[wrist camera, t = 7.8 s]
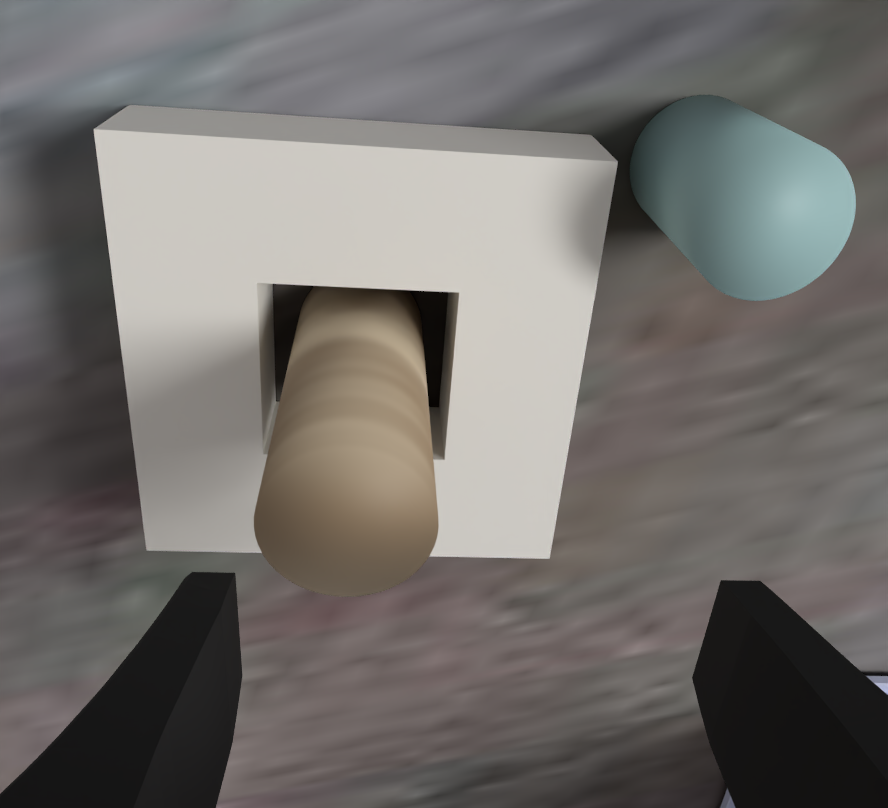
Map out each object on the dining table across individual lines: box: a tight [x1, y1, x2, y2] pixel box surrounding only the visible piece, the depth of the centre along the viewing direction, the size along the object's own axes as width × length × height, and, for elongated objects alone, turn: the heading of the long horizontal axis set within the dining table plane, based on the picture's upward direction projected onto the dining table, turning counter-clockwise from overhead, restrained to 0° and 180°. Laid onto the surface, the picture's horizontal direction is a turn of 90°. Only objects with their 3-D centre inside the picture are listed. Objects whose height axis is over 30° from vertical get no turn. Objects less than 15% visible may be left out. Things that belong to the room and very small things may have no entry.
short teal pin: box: [630, 95, 856, 301], centre depth 17 cm, size 3×3×4 cm
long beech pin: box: [254, 286, 439, 597], centre depth 17 cm, size 3×3×8 cm
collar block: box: [94, 105, 618, 559], centre depth 20 cm, size 10×10×2 cm
